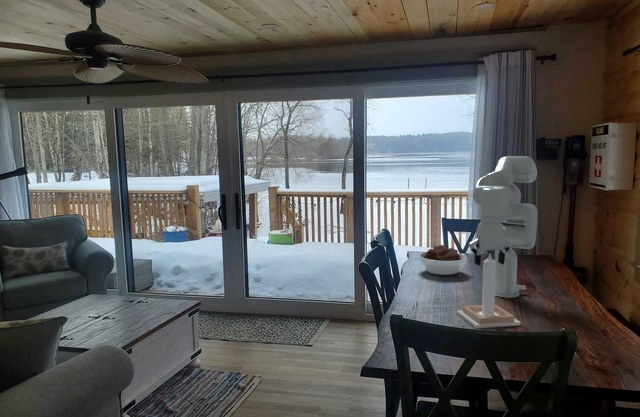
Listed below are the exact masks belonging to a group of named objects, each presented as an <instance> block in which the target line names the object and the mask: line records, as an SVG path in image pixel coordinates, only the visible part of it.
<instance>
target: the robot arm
mask: <svg viewBox="0 0 640 417" xmlns="http://www.w3.org/2000/svg"><path fill="white" fill-rule="evenodd" d="M494 168H495V169H494V170H493V171H492V172H491V173H488V174H486V175H483V176H482V177H480V178H479V179H478V180H477V182H476V184H475V186H474V189H473V192H472V199H473V201H474V203H475V204H477V205H480V223H478V225H477V227H476V233H475V239H474V240H472V241H470V242H468V243H467V244H468V247H469V249H470V251H471V252H472V253H473V255H474V257H473V258H474V264H475V265H476V266H478V267H479V266H481V265H482V264H481V263H482V260H481V259H482V255H480V254H481V253H482V252H483V251H494V261H495V262H496V277H495V297H498V298H499V297H500V298H505V299H507V298H509V299H514V298H517V297H519V296H520V291H523V290H525V291H526V290H527V286H526V285H520V284H517V270H518V256H517V253H516V252H515V250H514V249H524V250H530V249H533V248H534V247H535V246H536V238H537V228H538V209H537V207H536V205H534V204H532V203H521V199H522V198H521V197H522V192H521V190H520V189H519V188H518V186H517V185H516V184H517V183H521V184H523V183H525V184H530V183H534V182H535V181H536V179H537V177H538V168H537V165H536V163H535V161H534V159H533V158H532V157H531V156H528V155H527V156H526V155H508V156H503V157H501V158H499V159H498V161H497V163H496V166H495V167H494ZM515 183H516V184H515ZM503 223H504V224H511V225H504V224H503ZM513 225H524V226H525V227H524V226H513Z"/></svg>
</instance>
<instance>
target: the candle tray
mask: <svg viewBox="0 0 640 417" xmlns="http://www.w3.org/2000/svg"><path fill="white" fill-rule="evenodd" d="M481 311H482V304H479V305H478V304H477V305H465V306H462V309H461V310H460V309H459V310H456V314H457V315H458V316H459V317H461V318H462V319H463V320H464V321H466V322H467V323H468V324H469V325H470V326H472V327H474V328H475V329H482V328H483V329H484V328H498V327H499V328H501V327H513V326H521V323H522V322H521V321H519V320H518V319H517V318H516V317H515V315H513V314H511V312H508V311H506V309H505V310H504V308H502V307H500V306H498V305H497V304H495V306H494V313H496V314H497V315H498V316H490V317H481V316H479V315H478V313H479V312H481Z"/></svg>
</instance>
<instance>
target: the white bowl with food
mask: <svg viewBox="0 0 640 417" xmlns="http://www.w3.org/2000/svg"><path fill="white" fill-rule="evenodd" d="M418 260H419V261H420V263H421V264H422V265H423V268H424V270H425V271H426V272H428V273H430V274H434V275H440V276H451V275H455V274H458V273H459V272H460V271H461V268H462V267H463V266H464V265H465V264H466V262H467V260H468V259H467V256H466V255H465V254H462V253H458V250H457V249H455V248H453V247H449V248H448V247H447V246H445V245H443V244H440V245H438V246H435V245H434V246H433V248H429V249H428V250H427V251H424V252H421V253H419V255H418Z"/></svg>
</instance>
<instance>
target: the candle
mask: <svg viewBox="0 0 640 417" xmlns="http://www.w3.org/2000/svg"><path fill="white" fill-rule="evenodd" d="M482 271H483V272H482V297H481V298H482V300H481V301H482V302H481V303H482V304H481V305H482V311H481V312H479V313H478V315H479V316H481V317H490V316H498V315H497V314H496V313H494V306H495V305H496V304H495V301H496V296H495V277H496V262H495V259H493V257H492V253H491V252H490V253H489V254H488V257H487V258H486V259H485V260H483V270H482Z"/></svg>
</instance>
